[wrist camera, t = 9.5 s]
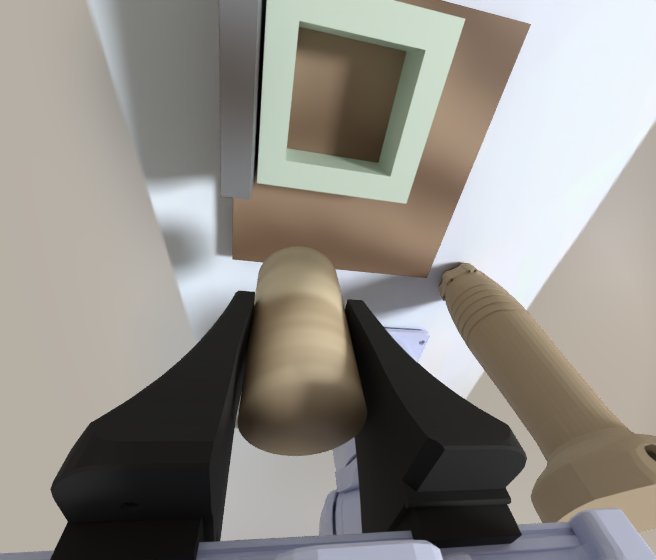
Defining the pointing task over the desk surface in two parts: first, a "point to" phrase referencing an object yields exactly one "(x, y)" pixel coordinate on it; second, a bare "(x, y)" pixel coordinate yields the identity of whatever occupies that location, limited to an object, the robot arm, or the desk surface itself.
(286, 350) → the dowel
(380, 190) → the collar block
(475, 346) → the handle
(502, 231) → the desk surface
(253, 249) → the board
